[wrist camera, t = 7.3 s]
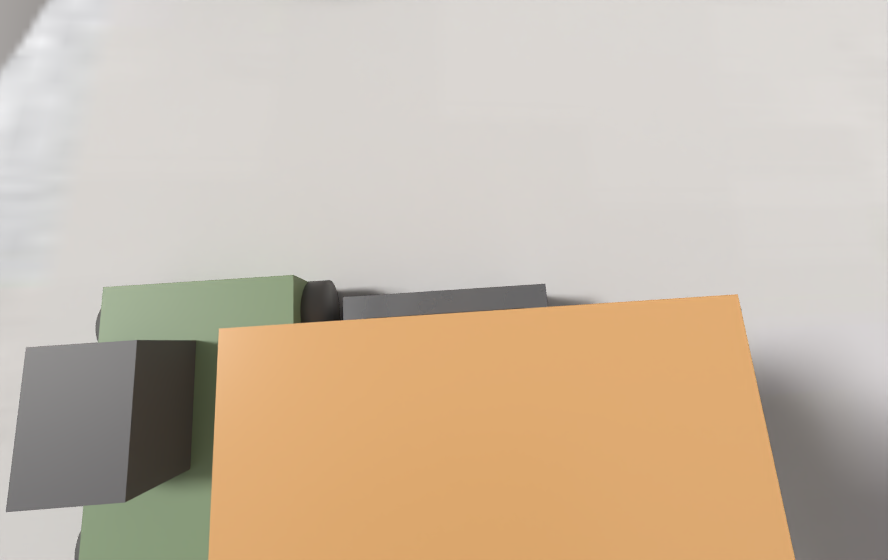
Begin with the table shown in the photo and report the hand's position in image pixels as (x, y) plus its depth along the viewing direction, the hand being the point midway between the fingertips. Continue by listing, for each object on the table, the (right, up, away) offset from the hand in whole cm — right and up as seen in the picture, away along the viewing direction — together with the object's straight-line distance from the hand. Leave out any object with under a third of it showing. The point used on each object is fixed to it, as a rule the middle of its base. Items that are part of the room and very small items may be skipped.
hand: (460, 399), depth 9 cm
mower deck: (-10, -4, +9) cm, 15 cm away
